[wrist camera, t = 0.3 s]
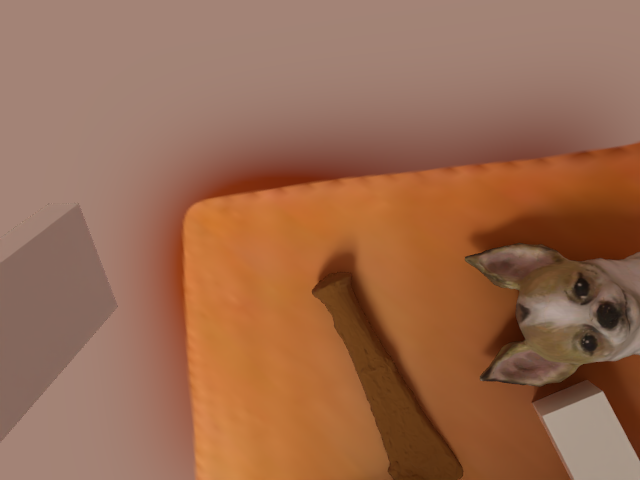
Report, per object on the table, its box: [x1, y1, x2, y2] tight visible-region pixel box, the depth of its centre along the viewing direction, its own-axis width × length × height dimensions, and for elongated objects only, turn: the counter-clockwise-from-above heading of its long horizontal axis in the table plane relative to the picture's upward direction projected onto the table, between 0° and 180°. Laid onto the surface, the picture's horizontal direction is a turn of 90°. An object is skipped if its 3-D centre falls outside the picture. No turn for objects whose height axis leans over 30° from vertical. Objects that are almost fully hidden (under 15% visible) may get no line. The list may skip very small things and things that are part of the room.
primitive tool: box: [312, 272, 463, 480], centre depth 43 cm, size 19×6×4 cm, turn 29°
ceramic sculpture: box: [465, 243, 640, 387], centre depth 38 cm, size 11×9×15 cm
